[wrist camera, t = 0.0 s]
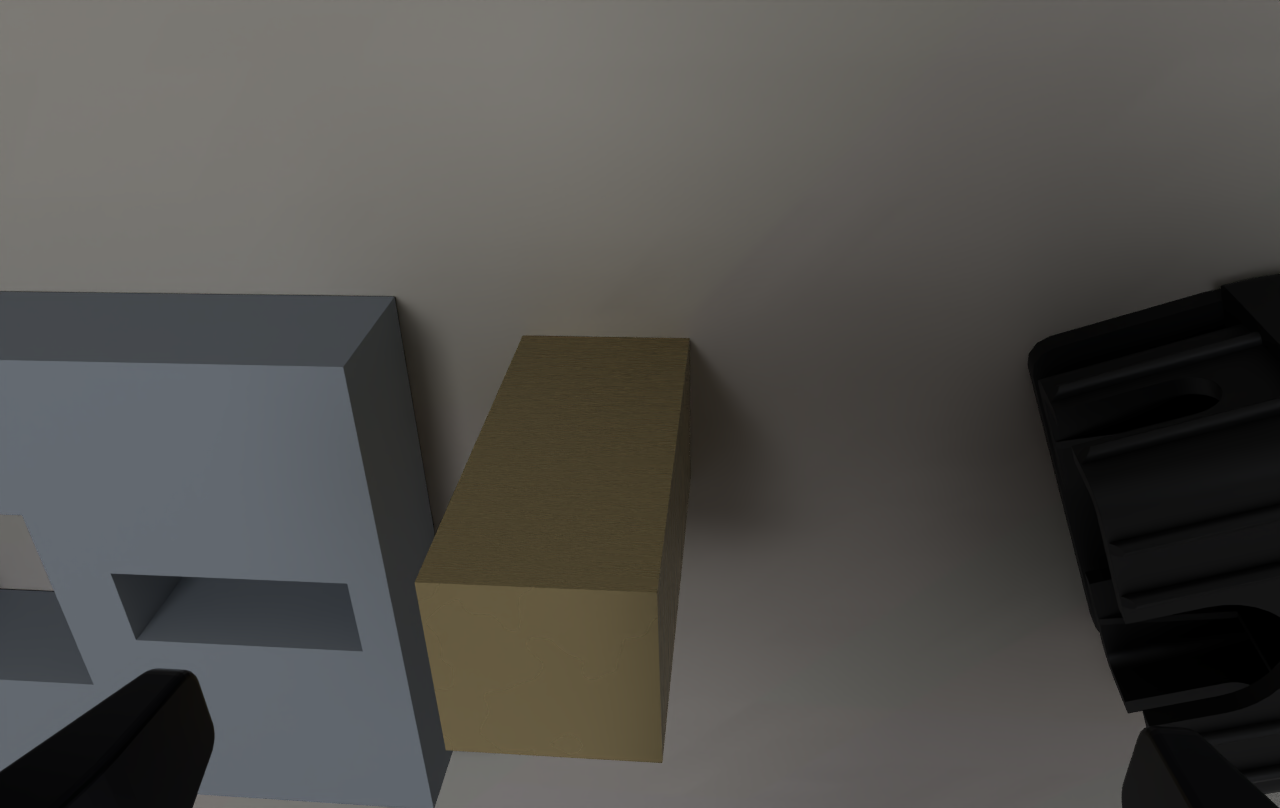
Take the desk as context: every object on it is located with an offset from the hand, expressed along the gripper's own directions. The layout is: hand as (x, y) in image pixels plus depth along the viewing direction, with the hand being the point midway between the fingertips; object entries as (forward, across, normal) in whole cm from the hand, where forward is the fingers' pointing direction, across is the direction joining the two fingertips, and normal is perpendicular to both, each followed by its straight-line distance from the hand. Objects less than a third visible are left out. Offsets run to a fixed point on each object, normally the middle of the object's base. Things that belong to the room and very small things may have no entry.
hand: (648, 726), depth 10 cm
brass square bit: (+15, +2, +5) cm, 16 cm away
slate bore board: (+15, +15, +9) cm, 23 cm away
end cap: (+15, -12, +6) cm, 20 cm away
